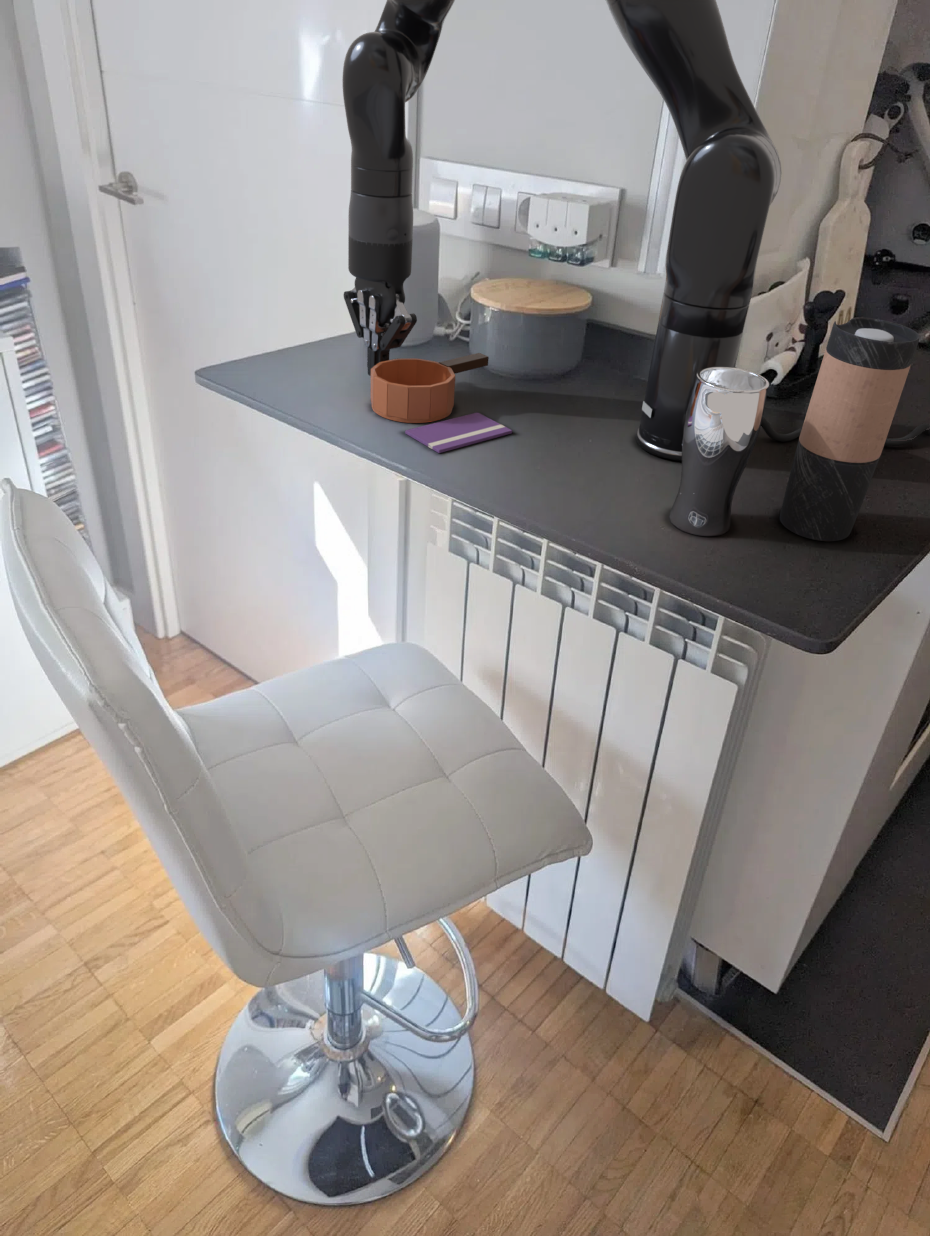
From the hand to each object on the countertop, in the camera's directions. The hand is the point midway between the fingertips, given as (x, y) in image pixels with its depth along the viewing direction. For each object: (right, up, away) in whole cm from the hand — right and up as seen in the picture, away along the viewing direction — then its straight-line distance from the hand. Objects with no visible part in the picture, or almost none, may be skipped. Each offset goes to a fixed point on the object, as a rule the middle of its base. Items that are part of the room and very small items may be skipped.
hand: (377, 376), depth 116 cm
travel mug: (+47, -22, -23) cm, 57 cm away
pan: (+7, -4, -2) cm, 8 cm away
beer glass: (+35, -21, -24) cm, 48 cm away
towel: (+11, -9, -9) cm, 17 cm away
